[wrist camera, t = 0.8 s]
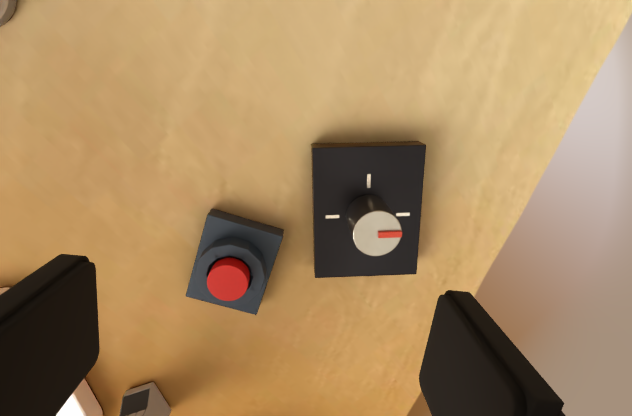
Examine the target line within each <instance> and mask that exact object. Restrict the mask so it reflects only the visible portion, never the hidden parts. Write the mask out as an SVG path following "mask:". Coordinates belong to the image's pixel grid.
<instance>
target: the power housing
mask: <svg viewBox="0 0 632 416" xmlns="http://www.w3.org/2000/svg"><path fill="white" fill-rule="evenodd" d="M283 231H284V230H282V229H279V228H276V227H272V226H269V225H266V224H262V223H259V222H256V221H252V220H249V219H246V218H242V217H239V216H236V215H232V214H229V213H226V212H222V211H219V210H216V209H211V210H210V212H209V213H208V215H207V218H206V222H205V226H204V229H203V233H202V237H201V241H200V244H199V248H198V252H197V255H196V259H195V263H194V267H193V270H192V274H191V278H190V282H189V285H188V289H187V293H186V296H187V297H190V298H194V299H198V300H202V301H206V302H209V303H213V304H217V305H221V306H225V307H228V308H232V309H236V310H240V311H244V312H247V313H251V314H255V315H256V314H257V312H258V309H259V306H260V303H261V300H262V297H263V294H264V291H265V288H266V285H267V282H268V279H269V276H270V273H271V271H272V268H273V265H274V262H275V259H276V256H277V253H278V250H279V247H280V244H281V241H282V238H283ZM223 258H236V259H239V260H241V261H242V262H243V263H245V265H246V266H247V267H248V269H249V272H250V280H249V284H248V288H247V290H246V292H245V294H244V295H243V296H242V297H240V298H238V299H236V300H233V301H224V300H220V299H218V298H216V297H215V296H213V295H212V294H211V292H210V291H209V289H208V286H207V278H208V275H209V273H210V271H211V269H212V267H213V265H214V264H215V263H216V262H217V261H218V260H220V259H223Z"/></svg>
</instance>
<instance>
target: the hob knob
mask: <svg viewBox="0 0 632 416" xmlns="http://www.w3.org/2000/svg"><path fill="white" fill-rule="evenodd" d="M346 219H347V223H348V226H349V229H350V232H351V235H352V238H353V241H354V243H355V245H356V247H357V248H358V249H359V250H360V251H361V252H363V253H364V254H367V255H370V256H381V255H385V254H387V253H389V252H391V251H392V250H393V249H394V248H395V247H396V246H397V245H398V243H399V241H400V239H401V237H402V230H401V225H400V223H399V221H398V219H397V218H396V217H395V215H394V214H393V212H392V211H391V210H390V208H389V207H388V205H387V204H386V203H385V201H384V200H383V199H381V198H380V197H378V196H375V195H363V196H360V197H358V198H356V199H355V200H354V201H353V202H352V203H351V204H350V205H349V207H348V210H347V213H346Z"/></svg>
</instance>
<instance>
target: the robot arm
mask: <svg viewBox="0 0 632 416" xmlns="http://www.w3.org/2000/svg"><path fill="white" fill-rule="evenodd" d="M98 355H99V330H98V309H97V288H96V268H95V265H94V263H93V262H89V259H88V258H87V257H86V256H78V255H67V254H61V255H58V256H57V257H55V258H54V259H53V260H51V261H50V262H48V263H47V264H45V265H44V266H42V267H41V268H39V269H38V270H36V271H35V272H33V273H32V274H30V275H29V276H27V277H26V278H24V279H23V280H21V281H20V282H18V283H17V284H16V285H14V286H13V287H11V288H10V289H8V290H7V291H5V292H4V293H2V294H1V295H0V416H56V415H57V413H58V412H59V411H60V409H61V408H62V407H63V405H64V404H65V403H66V401H67V400H68V399H69V397H70V396H71V395H72V393H73V392H74V391H75V390H76V388H77V387H78V386H79V384H80V383H81V382H82V380H83V379H84V378H85V376H86V375H87V374H88V372H89V371H90V370H91V368H92V367H93V366H94V364H95V363H96V361H97V358H98ZM419 382H420V387H421V390H422V392H423V395H424V397H425V399H426V402H427V404H428V407H429V409H430V411H431V414H432V416H565V415H564V413H563V412H562V411H561V410H562V407H563V405H564V403H563V401H562V400H561V399H560V398H559V397H558V395H557V394H556V393H555V392H554V391H553V390H552V388H551V387H550V386H549V385H548V384H547V382H546V381H545V380H544V379H543V378H542V377H541V375H539V373H538V372H537V371H536V370H535V369H534V367H533V366H532V365H531V364H530V363H529V361H528V360H527V359H526V358H525V357H524V355H523V354H522V353H521V352H520V351H519V350H518V349H517V347H516V346H515V345H514V344H513V343H512V342H511V340H510V339H509V338H508V337H507V336H506V335H505V333H504V332H503V331H502V330H501V329H500V327H499V326H498V325H497V324H496V323H495V322H494V320H493V319H492V318H491V317H490V316H489V314H488V313H487V312H486V311H485V310H484V309H483V307H482V306H481V305H480V304H479V303H478V302H477V300H476V299H475V298H474V297H473V296H472V295H471V294H470V293H469V292H462V291H451V290H448V291H446V293H445V295H440V296H439V298H438V301H437V305H436V309H435V313H434V317H433V321H432V325H431V330H430V334H429V338H428V342H427V346H426V350H425V354H424V358H423V362H422V366H421V370H420V375H419Z"/></svg>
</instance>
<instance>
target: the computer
mask: <svg viewBox="0 0 632 416" xmlns="http://www.w3.org/2000/svg"><path fill="white" fill-rule="evenodd" d="M8 289H10V287H6V288H0V295H1V294H2V293H4V292H5V291H7V290H8ZM56 416H103V412H102V409H101V407H100V405H99V403H98V401H97V400H96V398H95V396H94V394H93V393H92V391H91V389H90V387H89V386H88V384H87V382H86V380H85V378H84V379H83V380H82V382H81V383H80V384H79V386H78V387H77V388H76V390H75V391H74V392H73V393H72V395H71V396H70V397H69V399H68V400H67V401H66V403H65V404H64V405H63V407H62V408H61V409H60V411H59V412H58V413H57V415H56Z"/></svg>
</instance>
